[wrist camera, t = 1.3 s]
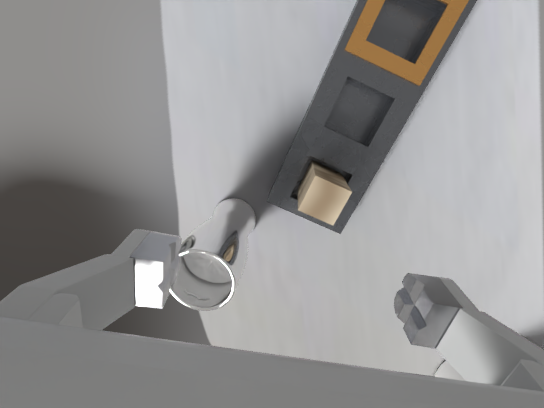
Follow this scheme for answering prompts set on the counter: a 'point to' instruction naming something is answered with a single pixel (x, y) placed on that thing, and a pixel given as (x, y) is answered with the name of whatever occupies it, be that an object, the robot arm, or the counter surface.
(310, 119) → the socket rail
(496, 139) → the counter surface
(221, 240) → the beer glass
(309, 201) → the beech peg
